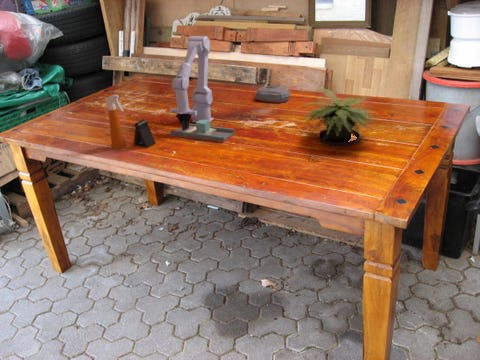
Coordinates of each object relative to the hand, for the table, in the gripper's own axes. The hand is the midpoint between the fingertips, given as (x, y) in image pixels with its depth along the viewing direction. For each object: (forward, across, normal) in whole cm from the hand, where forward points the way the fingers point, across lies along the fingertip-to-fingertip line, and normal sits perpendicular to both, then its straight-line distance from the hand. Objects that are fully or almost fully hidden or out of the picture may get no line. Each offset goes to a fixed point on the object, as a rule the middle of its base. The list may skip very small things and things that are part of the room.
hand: (185, 127), depth 230 cm
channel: (+3, +10, 0) cm, 10 cm away
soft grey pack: (+3, +24, +63) cm, 67 cm away
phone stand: (+3, -11, -20) cm, 23 cm away
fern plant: (+3, +76, +14) cm, 77 cm away
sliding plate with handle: (+2, +7, 0) cm, 7 cm away
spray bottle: (+3, -20, -26) cm, 33 cm away
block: (+1, +10, 0) cm, 11 cm away
